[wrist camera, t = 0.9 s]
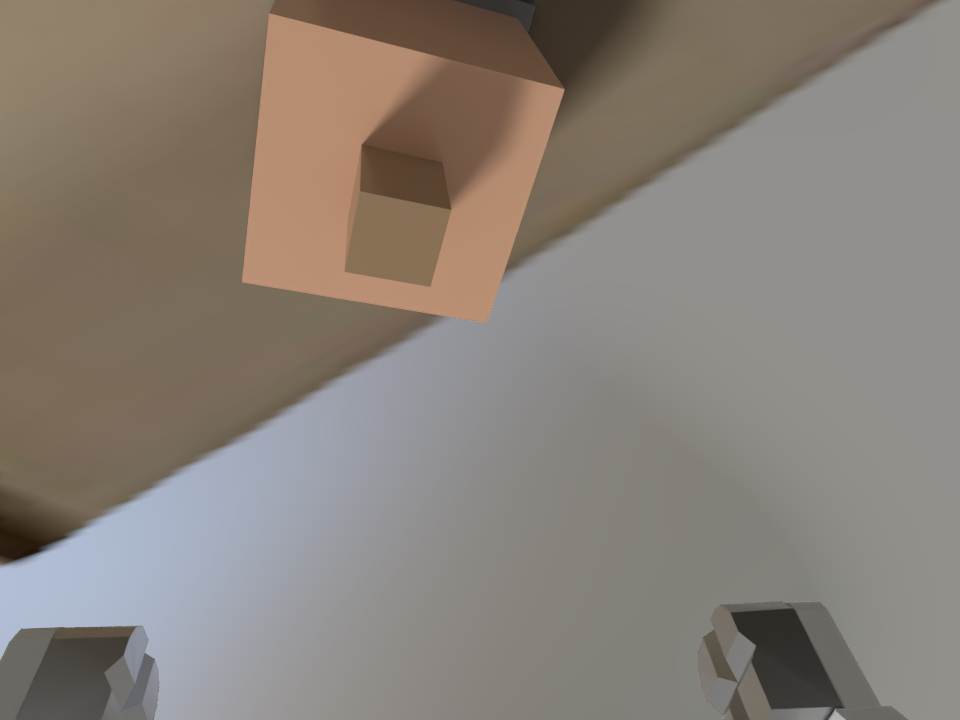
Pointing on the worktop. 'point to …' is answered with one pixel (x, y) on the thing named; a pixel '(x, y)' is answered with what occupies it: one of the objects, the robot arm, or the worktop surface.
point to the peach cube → (395, 151)
